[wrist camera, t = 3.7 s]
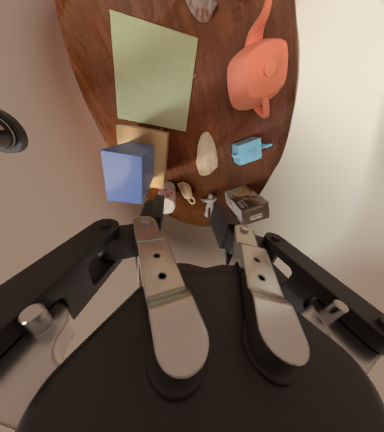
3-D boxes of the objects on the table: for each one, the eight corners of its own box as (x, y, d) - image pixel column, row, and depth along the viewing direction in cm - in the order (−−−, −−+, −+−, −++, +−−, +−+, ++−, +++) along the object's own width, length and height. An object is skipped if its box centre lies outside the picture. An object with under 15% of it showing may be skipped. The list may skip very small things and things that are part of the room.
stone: (197, 176, 53) (198, 177, 51) (192, 133, 46) (193, 133, 44) (218, 172, 53) (219, 174, 51) (216, 129, 46) (218, 129, 44)
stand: (137, 166, 49) (120, 183, 34) (136, 125, 43) (115, 124, 28) (166, 170, 51) (163, 188, 36) (169, 132, 45) (167, 134, 29)
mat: (118, 118, 41) (117, 118, 41) (110, 10, 31) (109, 9, 31) (185, 131, 45) (185, 131, 45) (197, 38, 35) (198, 38, 35)
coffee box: (226, 204, 61) (242, 226, 47) (224, 191, 57) (239, 210, 44) (247, 197, 60) (269, 217, 47) (246, 183, 57) (269, 201, 43)
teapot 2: (260, 132, 48) (274, 133, 41) (261, 151, 51) (274, 155, 44) (226, 145, 48) (234, 148, 42) (229, 163, 52) (237, 168, 45)
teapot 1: (269, 14, 34) (310, -34, 24) (270, 112, 45) (299, 107, 35) (216, 37, 35) (233, -1, 25) (229, 127, 46) (245, 127, 36)
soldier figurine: (214, 207, 64) (216, 186, 54) (217, 216, 60) (220, 196, 51) (200, 209, 63) (200, 188, 54) (202, 218, 60) (202, 199, 51)
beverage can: (156, 187, 54) (151, 206, 41) (167, 177, 52) (165, 193, 39) (167, 197, 56) (166, 218, 44) (178, 188, 55) (179, 206, 42)
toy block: (131, 174, 33) (107, 200, 21) (129, 141, 29) (99, 149, 18) (153, 177, 34) (142, 204, 22) (154, 145, 30) (142, 156, 18)
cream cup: (186, 178, 53) (187, 183, 49) (195, 197, 57) (197, 203, 53) (176, 183, 54) (177, 188, 49) (186, 201, 58) (187, 207, 53)
